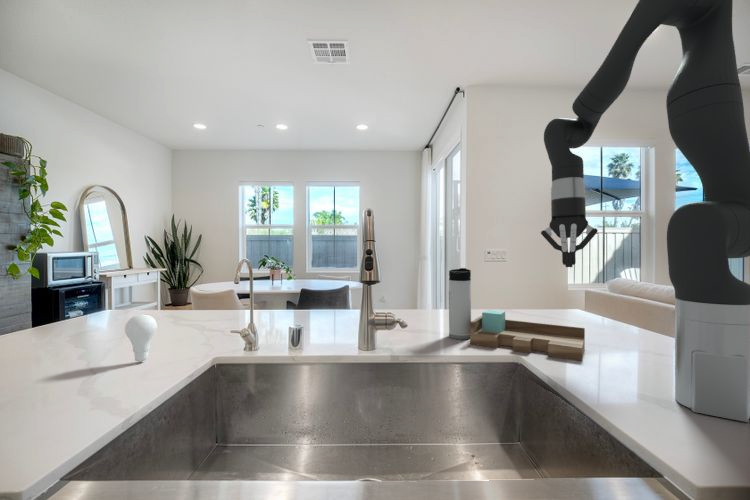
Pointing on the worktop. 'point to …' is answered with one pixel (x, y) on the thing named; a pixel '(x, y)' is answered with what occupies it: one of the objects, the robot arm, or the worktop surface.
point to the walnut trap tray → (533, 338)
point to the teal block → (493, 321)
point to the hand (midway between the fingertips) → (569, 267)
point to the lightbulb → (141, 334)
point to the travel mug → (459, 303)
